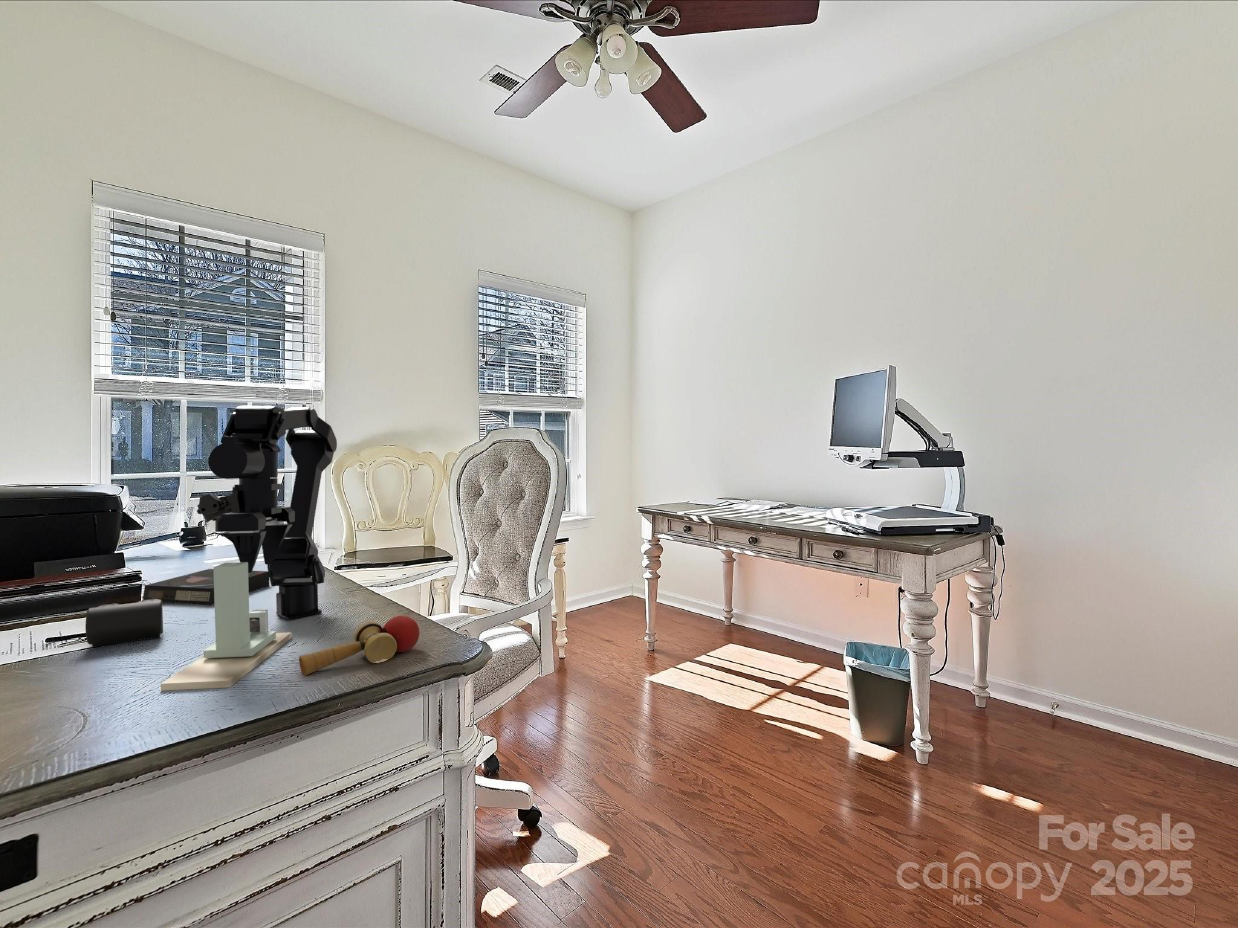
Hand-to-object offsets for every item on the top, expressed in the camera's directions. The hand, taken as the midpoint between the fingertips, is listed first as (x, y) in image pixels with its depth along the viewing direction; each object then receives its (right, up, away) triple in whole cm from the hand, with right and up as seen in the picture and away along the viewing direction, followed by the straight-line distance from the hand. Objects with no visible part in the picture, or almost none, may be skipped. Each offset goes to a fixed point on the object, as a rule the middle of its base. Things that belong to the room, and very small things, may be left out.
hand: (258, 568), depth 103 cm
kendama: (+22, -14, -8) cm, 27 cm away
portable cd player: (-31, -12, +33) cm, 46 cm away
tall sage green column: (+1, -12, -6) cm, 13 cm away
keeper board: (+1, -13, -8) cm, 15 cm away
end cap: (-24, -13, +1) cm, 27 cm away
